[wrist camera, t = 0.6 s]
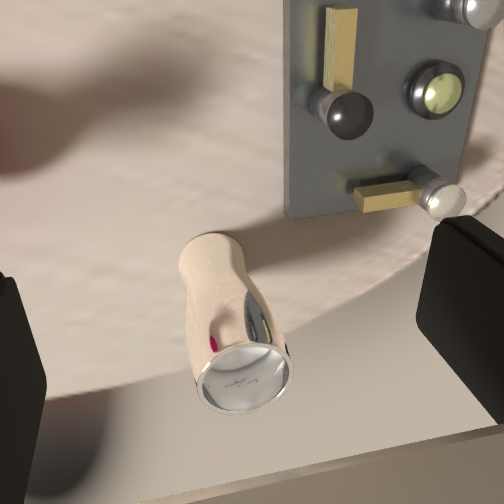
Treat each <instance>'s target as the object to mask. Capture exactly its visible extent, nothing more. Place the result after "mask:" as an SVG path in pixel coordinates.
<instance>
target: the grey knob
mask: <svg viewBox="0 0 504 504" xmlns="http://www.w3.org/2000/svg"><path fill="white" fill-rule="evenodd" d="M430 8H431V12H432V14H433V15H434V17H435V18H436V19H438V20H441V21H446V22H452V23H457V24H463V25H468V26H470V27H472V28H475V29H481V30H486V29H490V28H492V27H494V26H496V25H497V24H498V23H499V22H501V21H502V19H503V18H504V0H430Z"/></svg>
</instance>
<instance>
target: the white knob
mask: <svg viewBox="0 0 504 504" xmlns="http://www.w3.org/2000/svg"><path fill="white" fill-rule="evenodd" d="M353 203H354V204H355V205H356V206H357V207H358V208H359V209H360V210H361V211H362V212H363V213H365V212H372V211H379V210H385V209H392V208H399V207H405V206H412V205H419V206H421V207H422V208H423V209H424V210H425V211H427V213H428V214H429V215H430V216H431V217H432V218H433V219H434V220H436V221H438V222H441V221H442V220H443V219H444V218H448V217H456V216H457V215H458V214H459V213H460V212H461V211H462V210H463V208H464V206H465V203H466V193H465V191H464V190H463V189H462V188H461V187H459V186H458V185H456V184H453V183H451V182H449V181H448V180H446V179H445V178H443V177H442V176H440V175H439V174H438V173H436V172H435V171H433V170H432V169H430V168H428V167H425V166H421V167H417V168H415V169H413V170H412V171H411V172H410V173H409V174H408V175H407V176H406V178H405V180H404V181H399V182H392V183H385V184H378V185H371V186H363V187H356V188H354V199H353Z"/></svg>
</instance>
